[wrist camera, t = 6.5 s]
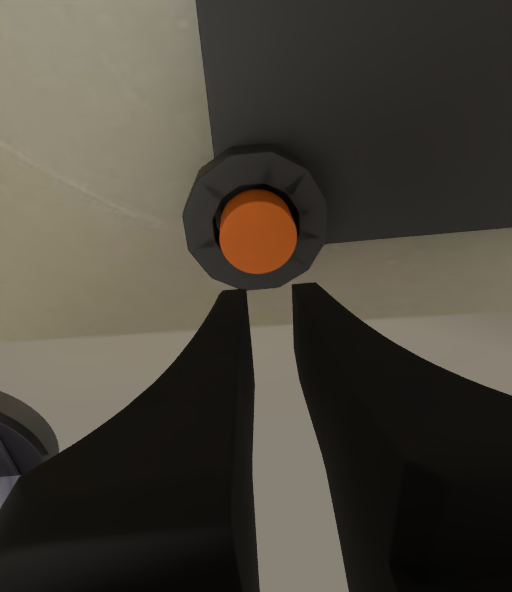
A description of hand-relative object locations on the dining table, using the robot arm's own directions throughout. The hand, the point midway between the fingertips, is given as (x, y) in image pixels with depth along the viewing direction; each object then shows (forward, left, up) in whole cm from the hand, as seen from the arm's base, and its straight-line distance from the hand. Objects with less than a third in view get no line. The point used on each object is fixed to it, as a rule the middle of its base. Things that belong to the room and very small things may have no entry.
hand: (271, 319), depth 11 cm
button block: (+3, -6, -10) cm, 12 cm away
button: (0, 0, -7) cm, 7 cm away
